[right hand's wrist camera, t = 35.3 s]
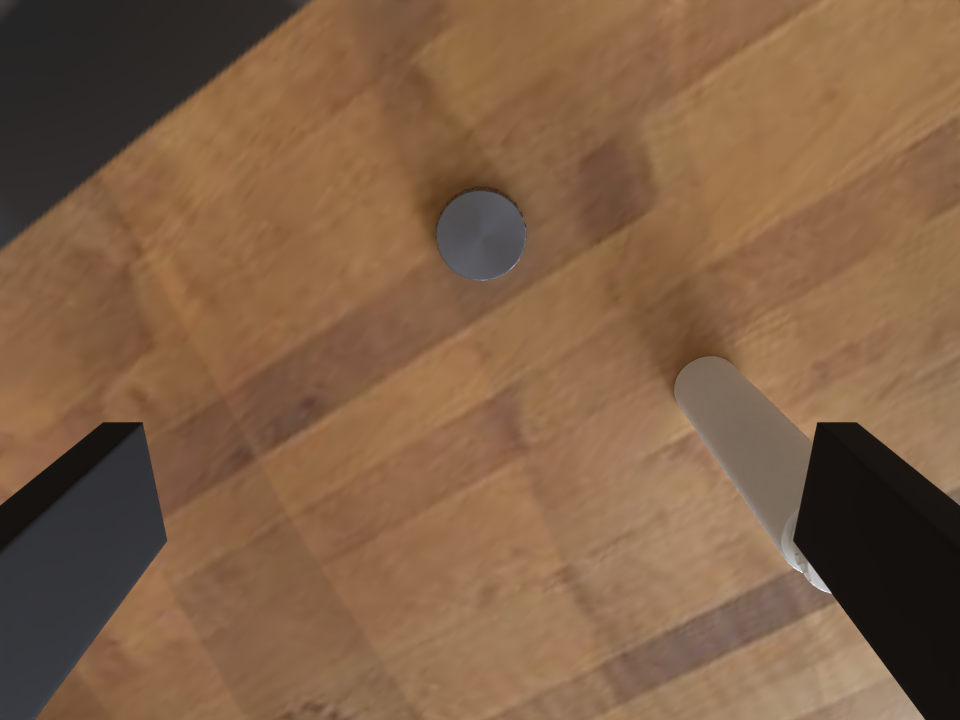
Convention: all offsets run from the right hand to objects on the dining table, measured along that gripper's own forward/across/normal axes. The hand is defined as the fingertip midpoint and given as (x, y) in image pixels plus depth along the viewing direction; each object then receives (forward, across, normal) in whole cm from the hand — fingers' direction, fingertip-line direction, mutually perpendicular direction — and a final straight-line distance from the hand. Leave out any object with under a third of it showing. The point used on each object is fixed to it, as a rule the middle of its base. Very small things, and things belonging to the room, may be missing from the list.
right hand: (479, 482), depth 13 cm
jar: (+29, +15, -10) cm, 34 cm away
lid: (+28, 0, 0) cm, 28 cm away
